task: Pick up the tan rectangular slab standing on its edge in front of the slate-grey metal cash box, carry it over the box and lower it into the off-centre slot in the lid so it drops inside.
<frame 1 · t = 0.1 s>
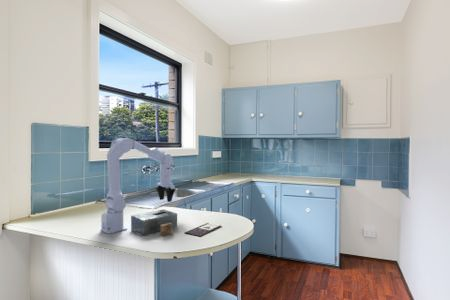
hand: (165, 200, 154), 10 cm above the worktop, fingers open, 7 cm apart
tan rectangular slab: (166, 235, 127), on the worktop
cash box: (154, 228, 136), on the worktop
chocolate bar: (203, 231, 134), on the worktop
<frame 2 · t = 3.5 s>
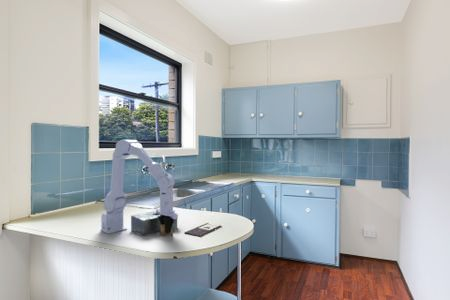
hand: (166, 232, 127), 1 cm above the worktop, fingers closed on tan rectangular slab, 2 cm apart
tan rectangular slab: (166, 235, 127), on the worktop, touching gripper
everything else where it was.
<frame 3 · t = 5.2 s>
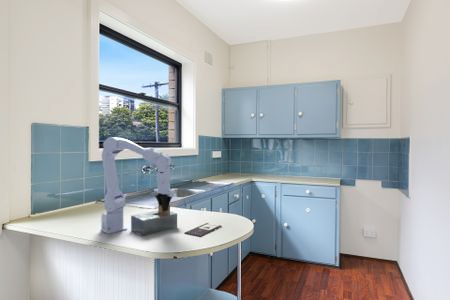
hand: (163, 210, 130), 10 cm above the worktop, fingers closed on tan rectangular slab
tan rectangular slab: (164, 215, 131), point 8 cm above the worktop, touching gripper
everything else where it was.
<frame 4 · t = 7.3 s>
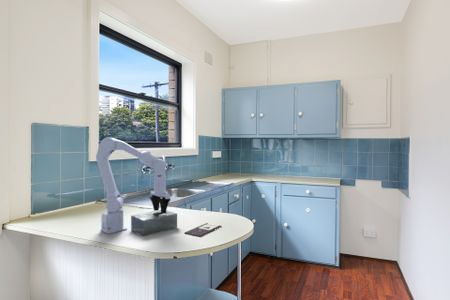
hand: (159, 211, 138), 8 cm above the worktop, fingers open, 6 cm apart
tan rectangular slab: (159, 226, 138), resting on cash box
everything else where it was.
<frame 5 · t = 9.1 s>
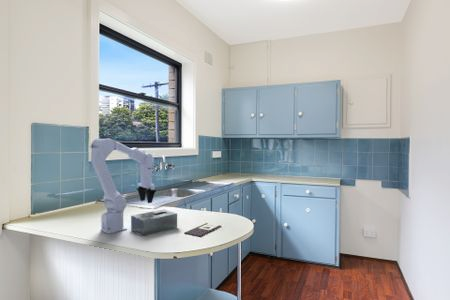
hand: (146, 201, 149), 10 cm above the worktop, fingers open, 7 cm apart
nothing on the worktop moved.
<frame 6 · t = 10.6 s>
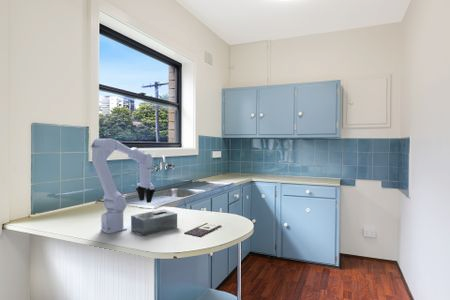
hand: (145, 201, 150), 10 cm above the worktop, fingers open, 7 cm apart
nothing on the worktop moved.
at the end: tan rectangular slab inside the target area on the cash box (2.9 cm from its centre), point 0.5 cm above the cash box's base; the gripper is holding nothing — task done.
